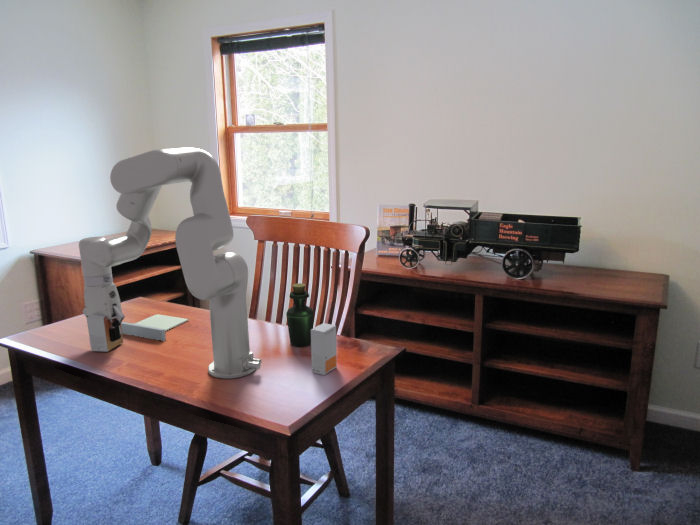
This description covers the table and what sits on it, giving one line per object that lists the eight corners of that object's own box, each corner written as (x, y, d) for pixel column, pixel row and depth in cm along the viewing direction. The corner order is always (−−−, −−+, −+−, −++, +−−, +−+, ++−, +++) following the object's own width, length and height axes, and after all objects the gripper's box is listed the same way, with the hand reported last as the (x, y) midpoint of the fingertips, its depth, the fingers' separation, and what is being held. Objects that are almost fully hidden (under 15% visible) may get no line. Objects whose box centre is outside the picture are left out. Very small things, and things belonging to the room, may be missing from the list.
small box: (107, 352, 159) (103, 317, 157) (90, 351, 160) (85, 317, 158) (124, 342, 167) (119, 308, 164) (107, 341, 168) (103, 308, 166)
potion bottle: (312, 348, 160) (309, 289, 156) (284, 348, 161) (281, 288, 157) (317, 338, 168) (315, 281, 164) (291, 337, 169) (288, 281, 165)
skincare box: (324, 376, 143) (323, 332, 140) (311, 372, 145) (309, 329, 142) (337, 367, 148) (336, 325, 145) (324, 364, 150) (323, 322, 147)
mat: (188, 320, 186) (188, 319, 186) (158, 334, 173) (158, 333, 173) (157, 315, 191) (156, 314, 191) (125, 329, 179) (125, 327, 179)
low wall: (165, 339, 169) (164, 329, 168) (163, 341, 168) (161, 330, 167) (108, 329, 179) (107, 319, 178) (105, 330, 178) (104, 320, 177)
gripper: (130, 279, 159) (138, 337, 163) (87, 274, 166) (96, 330, 170) (110, 286, 152) (118, 347, 156) (66, 280, 159) (75, 339, 163)
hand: (106, 338), depth 163 cm, fingers closed on small box, 6 cm apart
